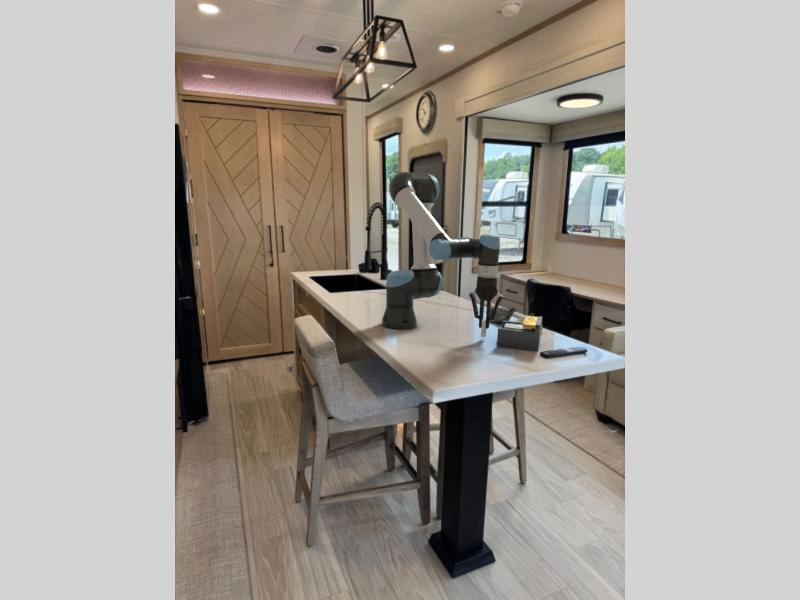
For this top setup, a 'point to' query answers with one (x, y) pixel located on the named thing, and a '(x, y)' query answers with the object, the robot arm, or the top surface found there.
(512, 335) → the dark grey open box
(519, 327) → the block
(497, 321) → the rock
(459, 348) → the top surface
